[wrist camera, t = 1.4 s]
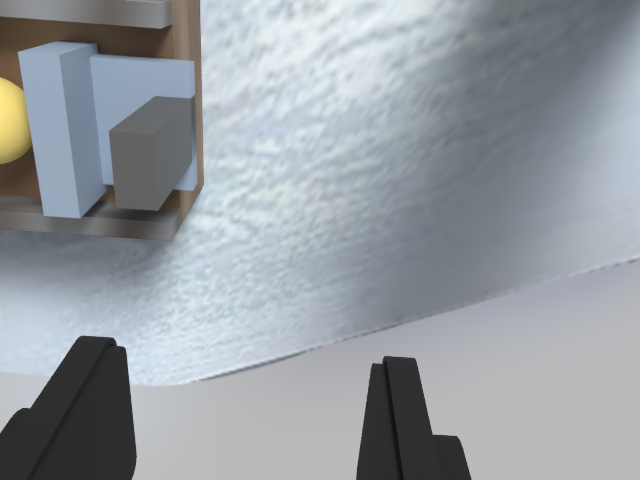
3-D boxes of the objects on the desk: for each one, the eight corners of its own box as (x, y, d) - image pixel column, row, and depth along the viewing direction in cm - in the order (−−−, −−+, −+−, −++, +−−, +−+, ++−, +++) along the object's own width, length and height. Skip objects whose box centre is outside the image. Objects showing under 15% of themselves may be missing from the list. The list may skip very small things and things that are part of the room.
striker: (194, 49, 26) (149, 77, 19) (197, 192, 29) (160, 256, 22) (61, 39, 25) (-26, 64, 19) (79, 184, 29) (9, 246, 22)
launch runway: (199, -7, 30) (159, 3, 23) (203, 184, 35) (171, 241, 28) (-100, -30, 30) (-234, -28, 23) (-54, 165, 35) (-153, 218, 28)
